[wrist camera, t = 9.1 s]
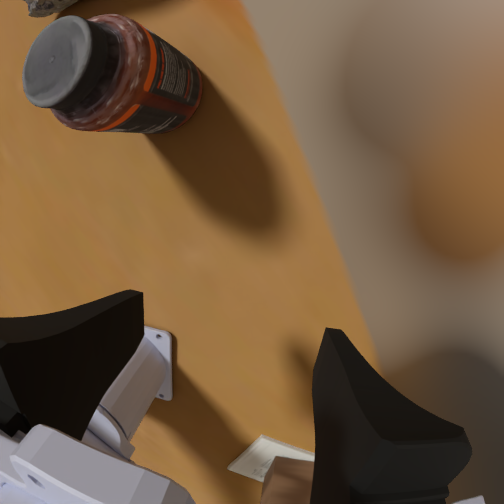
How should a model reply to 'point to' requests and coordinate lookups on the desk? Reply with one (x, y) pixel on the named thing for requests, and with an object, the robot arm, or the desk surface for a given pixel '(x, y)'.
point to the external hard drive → (266, 457)
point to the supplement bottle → (110, 76)
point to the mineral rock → (47, 6)
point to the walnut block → (288, 482)
